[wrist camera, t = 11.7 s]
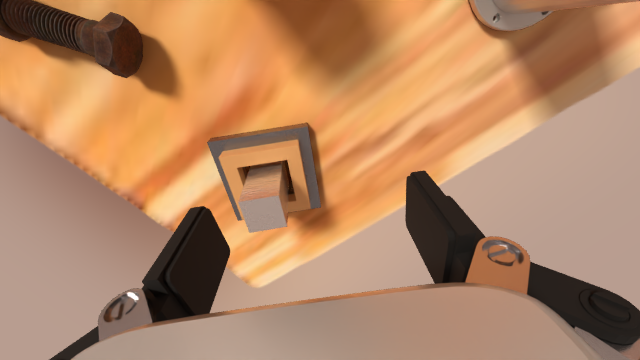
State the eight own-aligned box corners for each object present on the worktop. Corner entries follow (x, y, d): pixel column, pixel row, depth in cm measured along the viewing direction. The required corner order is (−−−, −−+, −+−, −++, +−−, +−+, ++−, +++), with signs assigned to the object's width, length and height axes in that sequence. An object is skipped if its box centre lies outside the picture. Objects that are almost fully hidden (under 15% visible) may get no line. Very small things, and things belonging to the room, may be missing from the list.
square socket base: (307, 122, 33) (308, 131, 30) (320, 201, 39) (322, 215, 36) (210, 138, 33) (202, 148, 30) (239, 214, 39) (235, 229, 36)
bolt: (-10, -11, 25) (149, 42, 28) (-25, 36, 25) (137, 84, 28) (-92, -66, 19) (118, 7, 22) (-112, -6, 19) (103, 60, 22)
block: (282, 156, 35) (278, 195, 26) (289, 182, 37) (287, 226, 28) (252, 161, 35) (237, 202, 26) (260, 187, 37) (249, 232, 28)
